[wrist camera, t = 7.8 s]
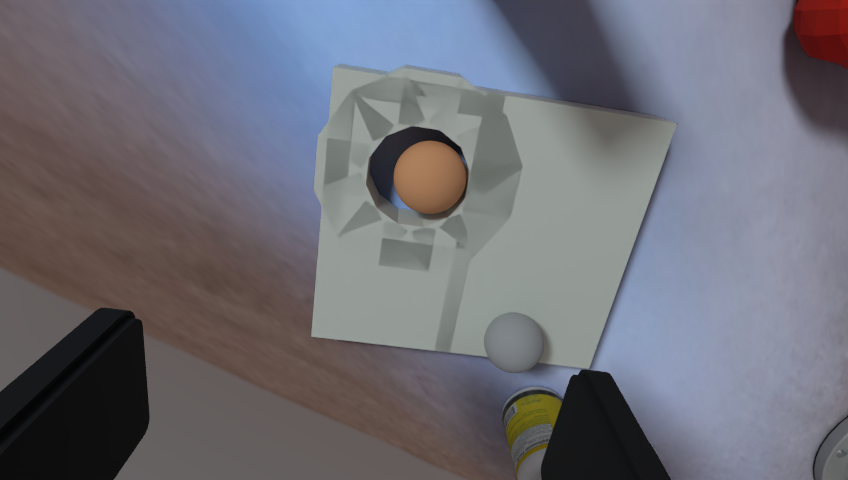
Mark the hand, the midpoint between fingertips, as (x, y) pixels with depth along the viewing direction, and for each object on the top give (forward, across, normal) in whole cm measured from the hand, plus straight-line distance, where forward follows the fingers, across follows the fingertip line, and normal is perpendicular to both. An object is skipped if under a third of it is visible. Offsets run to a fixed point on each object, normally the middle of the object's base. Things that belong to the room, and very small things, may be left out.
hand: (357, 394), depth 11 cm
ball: (+18, -2, 0) cm, 18 cm away
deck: (+20, -5, +3) cm, 21 cm away
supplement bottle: (+20, -12, +17) cm, 29 cm away
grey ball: (+16, -8, +8) cm, 19 cm away
